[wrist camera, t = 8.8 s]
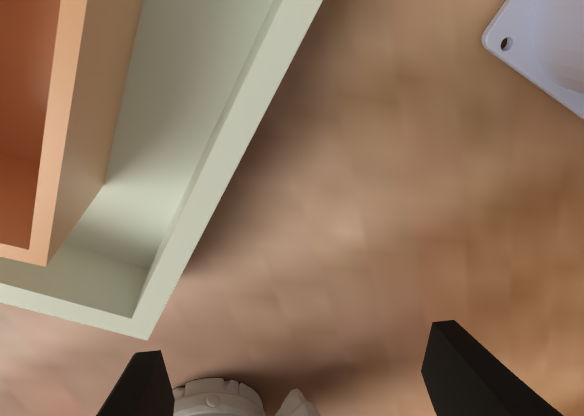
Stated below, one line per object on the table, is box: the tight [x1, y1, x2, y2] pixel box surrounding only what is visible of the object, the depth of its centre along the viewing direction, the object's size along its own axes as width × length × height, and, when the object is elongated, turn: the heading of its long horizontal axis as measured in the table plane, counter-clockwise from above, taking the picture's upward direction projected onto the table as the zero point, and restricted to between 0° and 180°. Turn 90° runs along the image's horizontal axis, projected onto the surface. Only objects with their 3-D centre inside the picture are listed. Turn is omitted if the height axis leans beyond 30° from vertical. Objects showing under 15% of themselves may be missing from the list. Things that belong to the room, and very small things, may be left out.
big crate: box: [0, 0, 323, 340], centre depth 13 cm, size 14×16×4 cm
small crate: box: [0, 0, 143, 267], centre depth 11 cm, size 5×8×6 cm, turn 157°
